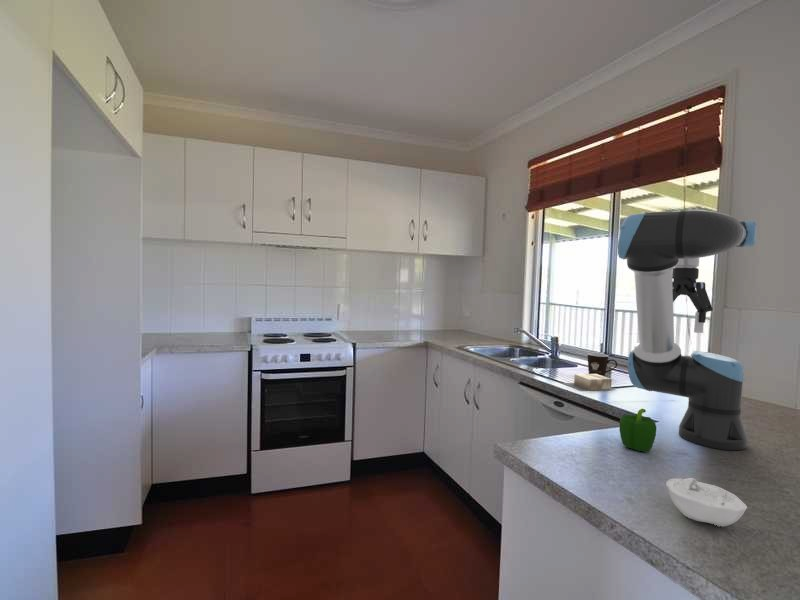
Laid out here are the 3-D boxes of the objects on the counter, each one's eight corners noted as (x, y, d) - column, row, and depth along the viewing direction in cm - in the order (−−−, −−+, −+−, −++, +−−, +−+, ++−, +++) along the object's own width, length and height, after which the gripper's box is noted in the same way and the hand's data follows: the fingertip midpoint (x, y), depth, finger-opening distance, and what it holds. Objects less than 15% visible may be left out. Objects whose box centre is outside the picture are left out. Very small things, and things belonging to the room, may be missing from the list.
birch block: (596, 373, 178) (574, 374, 175) (611, 378, 169) (589, 379, 167) (595, 383, 178) (574, 384, 176) (610, 389, 169) (588, 389, 167)
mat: (596, 383, 180) (596, 382, 180) (616, 391, 168) (616, 390, 168) (561, 384, 177) (561, 383, 177) (579, 392, 165) (579, 390, 165)
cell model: (732, 546, 70) (735, 505, 70) (653, 512, 80) (656, 476, 80) (753, 527, 76) (756, 489, 76) (677, 497, 86) (680, 464, 85)
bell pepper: (636, 456, 105) (639, 416, 105) (611, 443, 113) (613, 405, 113) (664, 453, 108) (666, 414, 107) (637, 441, 116) (640, 404, 115)
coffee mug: (581, 375, 195) (583, 353, 194) (595, 374, 198) (596, 352, 198) (603, 381, 184) (605, 358, 184) (617, 380, 188) (619, 357, 187)
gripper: (729, 267, 135) (724, 335, 137) (665, 268, 160) (661, 325, 161) (709, 266, 134) (704, 334, 135) (647, 267, 158) (644, 325, 159)
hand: (681, 330), depth 148 cm, fingers open, 13 cm apart
